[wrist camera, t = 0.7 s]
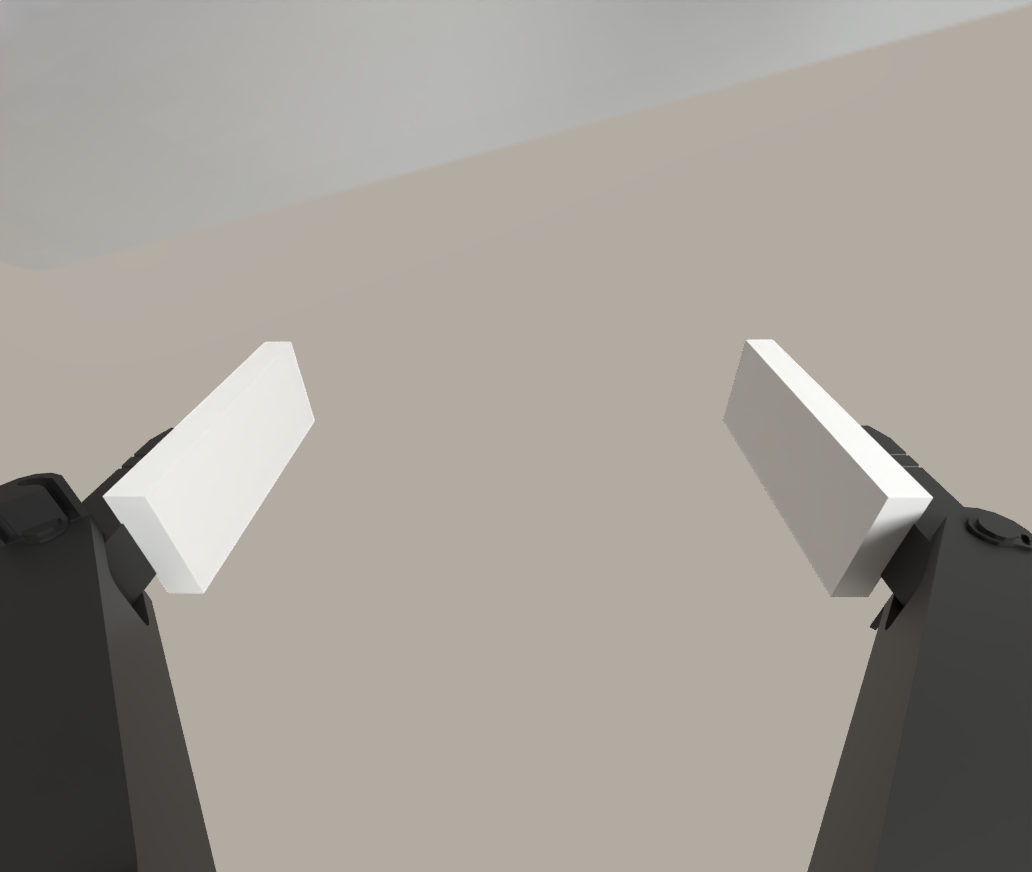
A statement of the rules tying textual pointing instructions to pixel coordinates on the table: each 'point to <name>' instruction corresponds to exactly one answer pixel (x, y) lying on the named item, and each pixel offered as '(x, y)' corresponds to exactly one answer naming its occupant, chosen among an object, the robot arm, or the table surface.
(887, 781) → the robot arm
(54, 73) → the table surface
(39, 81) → the table surface
